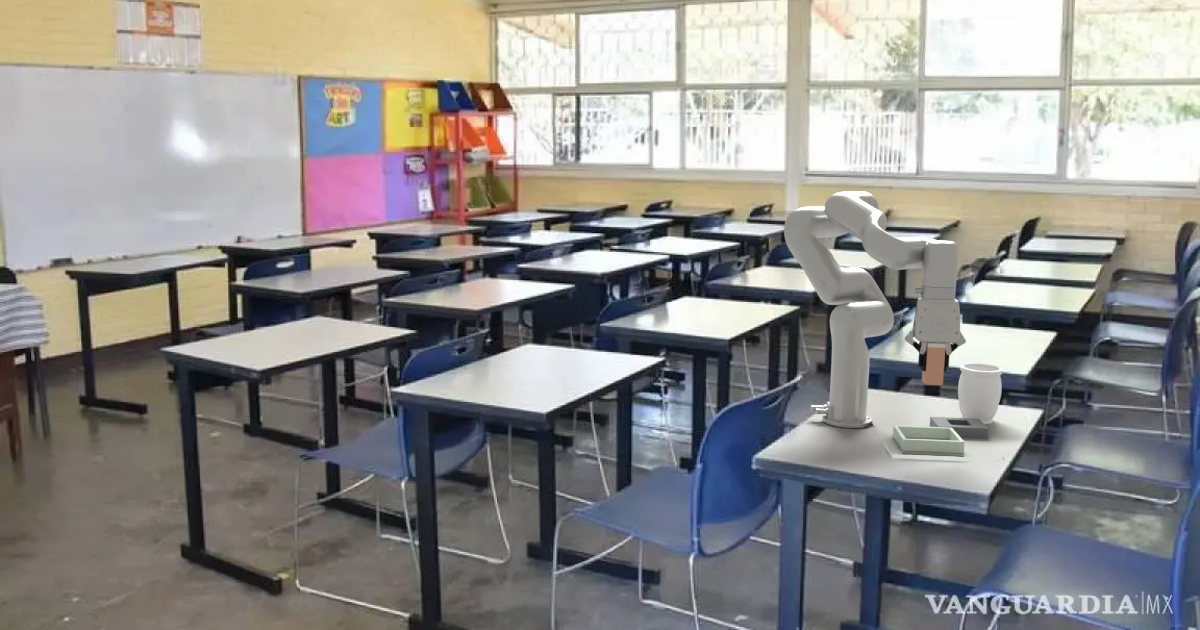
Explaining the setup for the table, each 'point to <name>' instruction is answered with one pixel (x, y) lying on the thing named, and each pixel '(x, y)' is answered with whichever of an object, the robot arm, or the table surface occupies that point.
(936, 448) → the tray
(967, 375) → the jar
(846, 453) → the table surface
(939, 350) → the plug
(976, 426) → the grey block
